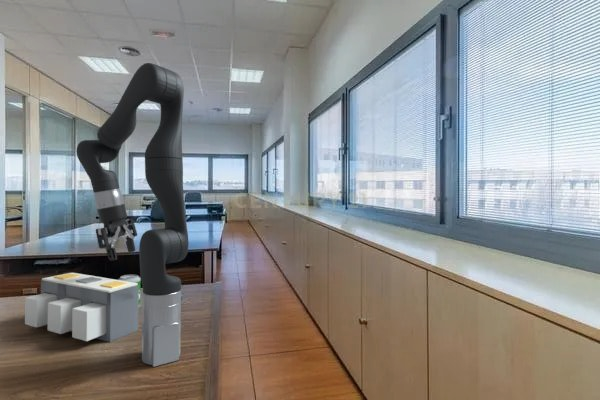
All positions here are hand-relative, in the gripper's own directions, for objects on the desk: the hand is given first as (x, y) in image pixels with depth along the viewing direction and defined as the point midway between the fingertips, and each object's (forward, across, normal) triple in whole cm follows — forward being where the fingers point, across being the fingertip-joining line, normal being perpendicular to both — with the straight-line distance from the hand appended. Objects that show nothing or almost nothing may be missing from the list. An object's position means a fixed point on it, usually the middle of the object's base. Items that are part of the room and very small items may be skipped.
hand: (123, 255), depth 106 cm
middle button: (+17, -10, +15) cm, 25 cm away
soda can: (+23, +12, +13) cm, 29 cm away
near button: (+19, -12, +5) cm, 23 cm away
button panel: (+20, -5, +15) cm, 25 cm away
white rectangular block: (+16, -7, +26) cm, 31 cm away
